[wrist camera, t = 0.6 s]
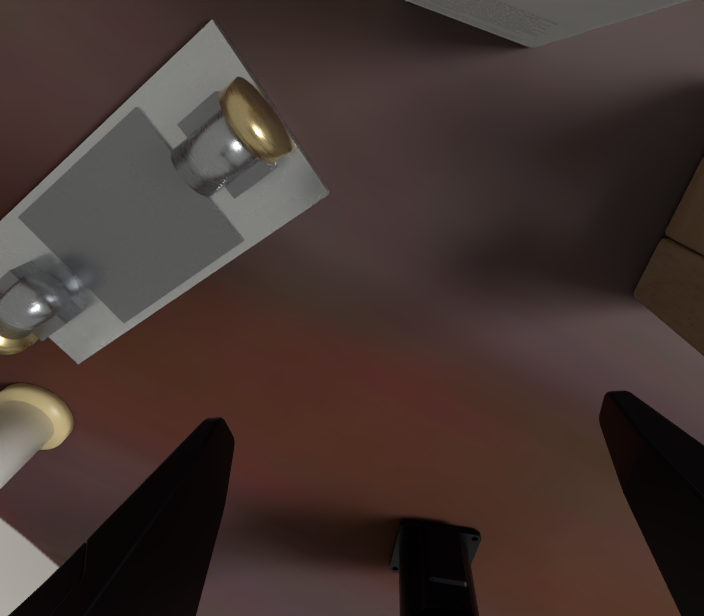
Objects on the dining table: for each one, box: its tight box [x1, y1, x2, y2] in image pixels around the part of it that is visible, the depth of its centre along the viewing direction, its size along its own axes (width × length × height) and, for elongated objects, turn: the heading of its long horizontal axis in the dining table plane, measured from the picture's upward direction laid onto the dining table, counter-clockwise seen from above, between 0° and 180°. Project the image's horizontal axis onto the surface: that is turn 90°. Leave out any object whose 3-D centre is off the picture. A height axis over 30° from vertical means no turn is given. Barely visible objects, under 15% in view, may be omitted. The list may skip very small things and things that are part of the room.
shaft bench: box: [0, 20, 331, 364], centre depth 22 cm, size 21×9×4 cm, turn 124°
